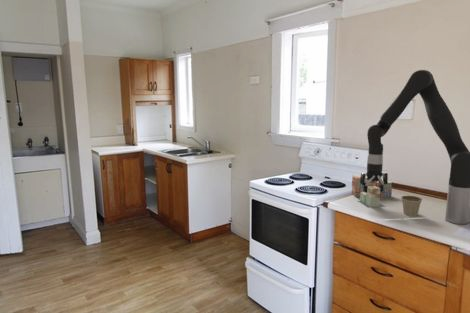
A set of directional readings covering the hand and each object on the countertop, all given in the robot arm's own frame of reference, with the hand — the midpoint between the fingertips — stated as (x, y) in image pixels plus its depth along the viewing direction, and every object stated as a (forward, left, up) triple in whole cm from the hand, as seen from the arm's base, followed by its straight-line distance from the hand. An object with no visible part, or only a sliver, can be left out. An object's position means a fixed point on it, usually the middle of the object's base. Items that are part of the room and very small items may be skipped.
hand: (373, 192), depth 180 cm
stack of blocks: (-9, -19, -8) cm, 23 cm away
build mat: (-1, -3, -8) cm, 9 cm away
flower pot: (-12, +15, -8) cm, 21 cm away
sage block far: (0, -6, -8) cm, 10 cm away
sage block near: (0, 0, -8) cm, 8 cm away
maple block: (0, 0, -3) cm, 3 cm away
